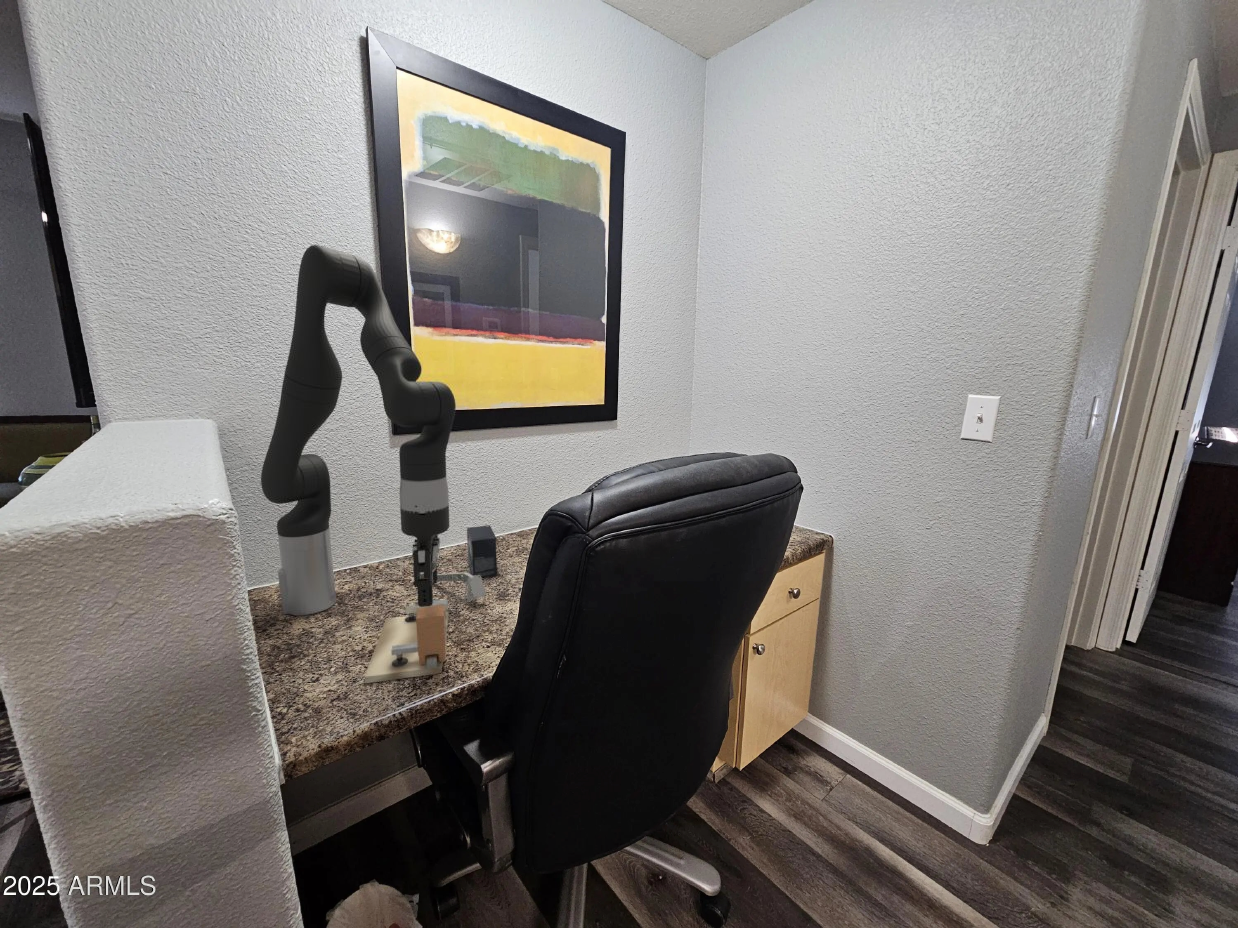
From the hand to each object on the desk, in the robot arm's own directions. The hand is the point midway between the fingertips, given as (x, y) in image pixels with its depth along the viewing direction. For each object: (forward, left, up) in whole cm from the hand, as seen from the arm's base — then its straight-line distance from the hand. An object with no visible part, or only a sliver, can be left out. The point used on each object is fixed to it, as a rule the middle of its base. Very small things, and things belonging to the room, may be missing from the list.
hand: (428, 593), depth 84 cm
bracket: (+1, +30, -14) cm, 33 cm away
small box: (+9, +41, -14) cm, 44 cm away
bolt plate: (-4, +7, -14) cm, 16 cm away
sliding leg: (-2, 0, -12) cm, 12 cm away
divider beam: (-2, +7, -12) cm, 14 cm away
